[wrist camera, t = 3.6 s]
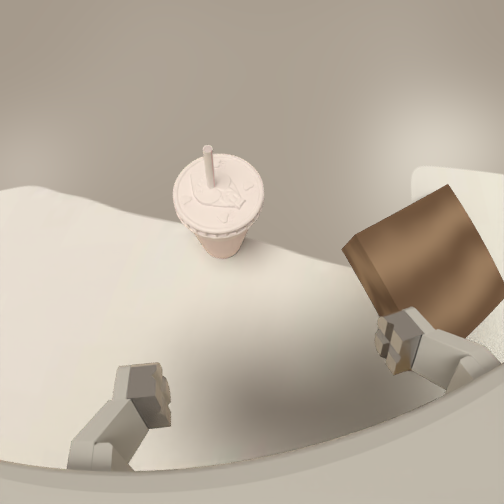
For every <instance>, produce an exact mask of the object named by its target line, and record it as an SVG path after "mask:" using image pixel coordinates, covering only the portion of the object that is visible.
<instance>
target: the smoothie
mask: <svg viewBox="0 0 504 504" xmlns="http://www.w3.org/2000/svg"><path fill="white" fill-rule="evenodd" d="M203 155H204V156H203V157H200V158H198V159H196V160H195V161H193V162H191V163H190V164H188V165H187V166H186V167H185V168H184V169H183V170H182V171H181V173H180V174H179V176H178V177H177V179H176V181H175V184H174V188H173V201H174V206H175V210H176V213H177V216H178V217H179V218H180V220H181V222H182V223H183V225H185V226H186V227H187V228H188V229H189V230H190V231H192V232H194V234H195V235H196V237H197V238H198V240H199V241H200V243H201V244H202V245H203V247H204V248H205V250H206V251H207V252H208V253H209V254H210V255H211V256H213V257H215V258H220V259H224V258H229V257H231V256H233V255H234V254H236V253H237V251H238V250H239V248H240V246H241V244H242V242H243V240H244V238H245V235H246V233H247V231H248V229H249V228H250V227H251V225H252V224H253V223H254V222H255V221H256V220H257V219H258V217H259V215H260V213H261V211H262V208H263V203H264V186H263V182H262V179H261V177H260V175H259V174H258V172H257V171H256V169H255V168H254V167H253V166H252V165H250V164H249V163H248V162H246V161H245V160H243V159H241V158H239V157H236V156H233V155H229V154H213V150H212V147H211V146H210V145H206V146H204V147H203Z"/></svg>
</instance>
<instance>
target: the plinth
mask: <svg viewBox="0 0 504 504" xmlns="http://www.w3.org/2000/svg"><path fill="white" fill-rule="evenodd" d="M342 251H343V253H344V254H345V256H346V258H347V259H348V261H349V263H350V265H351V266H352V268H353V270H354V271H355V273H356V275H357V277H358V278H359V280H360V282H361V284H362V285H363V287H364V289H365V291H366V293H367V294H368V296H369V298H370V300H371V302H372V303H373V305H374V307H375V309H376V311H377V313H378V314H379V316H383V315H387V314H390V313H393V312H397V311H400V310H403V309H406V308H409V307H414V308H416V309H417V311H418V312H419V313H420V314H421V315H422V316H423V317H424V318H425V319H426V320H427V321H428V322H429V323H430V324H431V326H432V327H433V328H434V329H435V330H437V329H440V330H443V331H445V332H448V333H451V334H453V335H456V336H459V337H462V338H464V339H465V338H466V337H467V336H468V335H469V334H470V333H471V332H472V331H473V330H474V329H475V328H476V327H477V326H478V325H479V324H480V323H481V322H482V321H483V320H484V319H485V318H486V317H487V316H488V315H489V314H490V313H491V312H492V311H493V310H494V309H495V308H496V307H497V306H498V304H499V303H500V302H501V301H502V300H503V299H504V281H503V279H502V277H501V275H500V273H499V271H498V269H497V267H496V265H495V263H494V261H493V259H492V257H491V255H490V253H489V251H488V249H487V248H486V246H485V244H484V242H483V240H482V238H481V237H480V235H479V233H478V231H477V230H476V228H475V226H474V224H473V223H472V221H471V219H470V218H469V216H468V214H467V213H466V211H465V209H464V208H463V206H462V205H461V203H460V202H459V200H458V198H457V197H456V195H455V194H454V192H453V191H452V189H451V188H450V186H449V185H448V184H447V185H445V186H443V187H442V188H440V189H438V190H436V191H435V192H433V193H431V194H429V195H427V196H426V197H424V198H422V199H420V200H418V201H416V202H415V203H413V204H411V205H409V206H408V207H406V208H404V209H402V210H400V211H399V212H396V213H395V214H393V215H391V216H389V217H387V218H385V219H383V220H382V221H380V222H378V223H376V224H374V225H372V226H370V227H368V228H367V229H365V230H363V231H361V232H359V233H357V234H355V235H354V236H353V237H352V239H351V240H350V241H349V242H348V243H347V244H346V245H345V246H344V247H343V248H342ZM408 371H412V369H410V370H408Z"/></svg>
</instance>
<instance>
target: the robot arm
mask: <svg viewBox="0 0 504 504" xmlns="http://www.w3.org/2000/svg"><path fill="white" fill-rule="evenodd" d="M377 326H378V327H379V330H378V331H377V332H376V334H375V340H374V341H375V347H376V350H377V352H378V353H379V355H380V356H381V357H383V358H385V359H386V365H387V367H388V368H389V370H390V371H391V373H392V374H393V375H396V374H399V373H402V372H405V371H408V370H410V369H412V371H414V372H415V373H417V374H419V375H421V376H422V377H424V378H426V379H428V380H429V381H431V382H433V383H435V384H436V385H438V386H440V387H442V388H443V389H445V390H446V392H445V394H444V396H442V397H440V398H438V399H436V400H434V401H432V402H429V403H427V404H425V405H423V406H421V407H418V408H416V409H414V410H411V411H409V412H407V413H404V414H402V415H400V416H397V417H395V418H392V419H390V420H387V421H385V422H382V423H379V424H377V425H374V426H371V427H368V428H366V429H363V430H360V431H357V432H354V433H351V434H348V435H345V436H342V437H339V438H335V439H332V440H329V441H325V442H322V443H318V444H315V445H311V446H307V447H303V448H300V449H296V450H292V451H287V452H283V453H279V454H274V455H269V456H265V457H260V458H254V459H249V460H243V461H238V462H231V463H225V464H218V465H211V466H202V467H193V468H183V469H171V470H155V471H134V470H133V469H132V468H131V467H130V465H129V464H128V463H129V462H130V460H131V459H132V457H133V455H134V454H135V452H136V450H137V449H138V447H139V446H140V444H141V442H142V441H143V439H144V438H145V436H146V434H147V433H148V431H149V429H153V428H162V427H170V426H171V411H170V409H169V407H168V405H169V404H170V402H171V395H170V389H169V385H168V382H167V379H166V377H164V376H162V367H161V365H160V363H158V362H156V363H145V364H135V365H126V366H119V367H118V369H117V373H116V378H115V384H114V391H113V397H112V400H108V401H107V403H106V404H105V405H104V406H103V407H102V408H101V409H100V410H99V411H98V412H97V414H96V415H95V416H94V417H93V418H92V419H91V420H90V421H89V422H88V423H87V425H86V426H85V427H84V428H83V429H82V430H81V431H80V432H79V433H78V435H77V436H76V437H75V438H74V439H73V440H72V441H71V446H70V452H69V458H68V464H67V469H58V468H49V467H40V466H33V465H26V464H20V463H14V462H8V461H3V460H0V504H504V363H502V364H501V363H500V362H499V361H498V359H497V358H496V357H495V356H494V355H493V354H492V353H491V352H490V351H489V350H488V349H487V348H486V346H483V345H481V344H478V343H475V342H472V341H470V340H467V339H464V338H462V337H459V336H456V335H453V334H451V333H448V332H445V331H443V330H440V329H437V330H435V329H434V328H433V327H432V326H431V324H430V323H429V322H428V321H427V320H426V319H425V318H424V317H423V316H422V315H421V314H420V313H419V312H418V311H417V309H416V308H414V307H409V308H406V309H403V310H400V311H397V312H393V313H390V314H387V315H383V316H380V317H379V319H378V321H377Z"/></svg>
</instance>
